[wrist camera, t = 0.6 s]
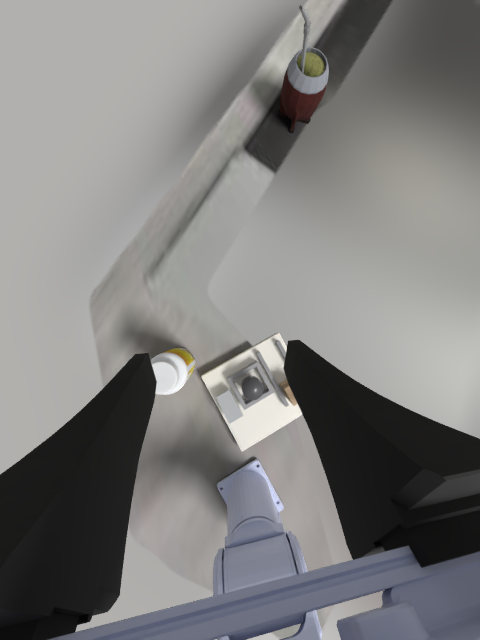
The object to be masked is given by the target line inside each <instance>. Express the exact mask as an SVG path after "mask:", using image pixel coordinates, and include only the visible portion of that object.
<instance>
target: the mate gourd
mask: <svg viewBox="0 0 480 640" xmlns="http://www.w3.org/2000/svg"><path fill="white" fill-rule="evenodd" d="M299 9H300V11H301V13H302V15H303V17H304V20H305V24H304V41H303V49H302V50H300V51H299V52H298V53H297V54H296V55H295V56H294V57H293V59H292V60H291V62H290V63H289V66H288V68H287V70H286V73H285V76H284V81H283V86H282V90H281V96H280V110H278V116H280V117H283V118H287V119H290V120H291V124H290V129H289V132H290V133H293V132H294V127H295V123H296V121H299V122H303V123H307V124H308V123H309V122H310V117H311V115H312V114H313V112H314V111H315V110H316V108H317V106H318V104H319V103H320V101H321V99H322V97H323V95H324V92H325V89H326V84H327V81H328V74H329V69H328V63H327V59H326V57H325V56H324V54H323V53H322V52H321V51H319V50H318V49H315V48H312V47H309V48H307V42H308V35H309V33H310V27H311V22H310V19H309V15H308V12H307V11H306V10H305V9H304V8H303V7H302V6H301V5H300V6H299Z"/></svg>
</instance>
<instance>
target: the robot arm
mask: <svg viewBox="0 0 480 640" xmlns="http://www.w3.org/2000/svg"><path fill="white" fill-rule="evenodd" d="M283 369H284V372H285V375H286V378H287V381H288V384H289V387H290V389H291V391H292V393H293V395H294V397H295V399H296V402H297V404H298V406H299V408H300V410H301V412H302V414H303V416H304V418H305V420H306V422H307V425H308V427H309V429H310V432H311V434H312V436H313V439H314V442H315V445H316V448H317V450H318V453H319V456H320V459H321V462H322V465H323V468H324V470H325V473H326V476H327V479H328V483H329V486H330V489H331V492H332V495H333V498H334V502H335V505H336V508H337V511H338V515H339V519H340V522H341V525H342V529H343V533H344V536H345V539H346V544H347V546H348V549H349V551H350V554H351V556H352V558H353V560H351V561H348V562H343V563H339V564H335V565H332V566H328V567H324V568H320V569H316V570H312V571H309V572H308V570H307V567H306V563H305V560H304V556H303V553H302V550H301V547H300V544H299V542H298V539H297V538H296V536H294V535H293V534H292V532H291V531H287V532H286V533H285V530H284V527H283V523H282V520H281V517H280V513H279V512H281V511H282V510H283V508H284V507H283V504H282V502H281V501H280V499H279V497H278V495H277V493H276V491H275V490H274V488H273V486H272V484H271V482H270V480H269V478H268V477H267V475H266V473H265V471H264V469H263V467H262V466H261V464H260V462H259V460H257V459H255V460H254V461H252V462H250V463H249V464H247V465H245V466H244V467H242V468H241V469H239V470H237V471H236V472H234V473H233V474H231V475H229V476H228V477H226V478H225V479H223V480H221V481H220V482H218V484H217V488H218V490H219V492H220V494H221V496H222V497H223V499H224V501H225V503H226V505H227V527H228V536H226V537H225V550H224V548H220V549H219V550H218V553H217V555H216V557H215V559H214V567H213V597H209V598H205V599H201V600H197V601H193V602H190V603H186V604H182V605H178V606H174V607H170V608H167V609H163V610H159V611H155V612H151V613H147V614H144V615H140V616H136V617H132V618H128V619H124V620H121V621H117V622H113V623H110V624H105V625H101V626H98V627H94V628H90V629H86V630H82V631H78V632H75V631H76V627H77V625H79V624H83V623H87V622H90V620H91V618H92V616H93V615H97V614H101V613H105V612H108V611H109V610H110V608H111V607H112V606H113V604H114V603H115V602H116V600H117V598H118V597H119V595H120V587H121V578H122V569H123V560H124V553H125V544H126V537H127V530H128V523H129V516H130V509H131V502H132V496H133V490H134V484H135V478H136V472H137V467H138V461H139V457H140V452H141V448H142V444H143V441H144V437H145V433H146V430H147V426H148V423H149V419H150V415H151V411H152V408H153V404H154V399H155V392H156V385H157V381H156V377H155V374H154V371H153V367H152V364H151V361H150V357H149V354H148V353H144V354H135V355H134V356H133V357H132V358H131V359H130V360H129V361H128V363H127V364H126V365H125V366H124V367H123V368H122V369H121V370H120V371H119V372H118V373H117V375H116V376H115V377H114V378H113V379H112V380H111V381H110V382H109V383H108V384H107V385H106V386H105V387H104V388H103V389H102V390H101V391H100V392H99V393H98V394H97V395H96V396H95V398H93V399H92V400H91V401H90V402H89V403H88V404H87V405H86V406H85V407H84V408H83V409H82V410H81V411H80V412H79V413H77V414H76V415H75V416H74V417H73V418H72V419H71V420H70V421H68V422H67V423H66V424H65V425H64V426H63V427H62V428H60V429H59V430H58V431H57V432H55V433H54V434H53V435H52V436H51V437H49V438H48V439H47V440H46V441H44V442H43V443H42V444H41V445H39V446H38V447H37V448H35V449H34V450H33V451H31V452H30V453H29V454H27V455H26V456H25V457H24V458H22V459H21V460H20V461H18V462H17V463H16V464H14V465H13V466H12V467H10V468H9V469H7V470H6V471H5V472H3V473H2V474H1V475H0V640H214V639H217V640H246V639H249V638H253V637H256V636H259V635H263V634H266V633H270V632H273V631H276V630H280V629H283V628H286V627H290V626H293V625H296V624H300V623H301V625H300V628H299V630H298V632H297V633H296V634H294V635H293V636H291V637H287V638H284V639H281V640H322V631H321V627H320V624H319V620H318V616H317V612H316V610H318V609H321V608H325V607H328V606H331V605H335V604H338V603H342V602H345V601H349V600H352V599H355V598H359V597H362V596H366V595H369V594H373V593H376V592H380V591H383V590H385V591H383V594H382V600H383V605H382V607H381V608H377V609H373V610H370V611H366V612H362V613H359V614H356V615H353V616H350V617H347V618H344V619H341V620H338V621H337V628H338V631H339V634H340V637H341V640H480V439H479V438H476V437H474V436H471V435H468V434H466V433H463V432H461V431H458V430H455V429H453V428H450V427H448V426H445V425H443V424H440V423H438V422H436V421H433V420H431V419H429V418H426V417H424V416H422V415H420V414H417V413H415V412H413V411H411V410H409V409H406V408H405V407H403V406H401V405H399V404H396V403H395V402H393V401H391V400H389V399H387V398H385V397H383V396H381V395H379V394H377V393H376V392H374V391H372V390H370V389H369V388H367V387H365V386H364V385H362V384H360V383H359V382H357V381H355V380H354V379H352V378H351V377H349V376H348V375H346V374H345V373H343V372H342V371H340V370H339V369H337V368H336V367H334V366H333V365H332V364H330V363H329V362H327V361H326V360H325V359H324V358H322V357H321V356H320V355H318V354H317V353H316V352H314V351H313V350H311V349H310V348H309V347H308V346H307V345H305V344H304V343H303V342H301V341H300V340H292V341H288V345H287V351H286V356H285V362H284V367H283ZM257 465H259V466H257ZM221 487H222V489H220V488H221ZM277 501H279V502H277Z"/></svg>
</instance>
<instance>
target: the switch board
mask: <svg viewBox="0 0 480 640" xmlns="http://www.w3.org/2000/svg"><path fill="white" fill-rule="evenodd" d="M286 351H287V346H286V345H285V343H284V341H283V339H282V337H281V335H280V334H279V333H276V334H274V335H272V336H270V337H269V338H267V339H265V340H263V341H261V342H260V343H258V344H256V345H254V346H252V347H251V348H249V349H247V350H245V351H244V352H242V353H240V354H238V355H236V356H235V357H233V358H231V359H229V360H228V361H226V362H224V363H222V364H220V365H219V366H217V367H215V368H213V369H212V370H210V371H208V372H206V373H204V374H203V375H202V376H201V377H202V379H203V381H204V383H205V385H206V386H207V388H208V390H209V392H210V394H211V396H212V397H213V399H214V401H215V403H216V405H217V407H218V409H219V410H220V412H221V414H222V416H223V418H224V420H225V421H226V423H227V425H228V427H229V429H230V431H231V432H232V434H233V436H234V438H235V440H236V442H237V443H238V445H239V447H240V449H241V451H244V450H246V449H247V448H249V447H250V446H252V445H254V444H255V443H257V442H259V441H260V440H262V439H263V438H265V437H267V436H268V435H270V434H272V433H273V432H275V431H276V430H278V429H280V428H281V427H283V426H285V425H286V424H288V423H289V422H291V421H293V420H294V419H296V418H298V417H299V416H301V415H302V412H301V410H300V408H299V406H298V404H297V405H295V406H293V404H292V403H291V402H290V401H289V400H288V399H287V397H286V395H285V393H284V391H283V390H282V388H281V386H280V383H282V382H283V381H285V380H287V378H286V375H285V372H284V369H283V367H284V362H285V356H286ZM248 376H255V377H257V378H258V379H259V380H260V382H261V383H262V385H263V389H264V390H263V394H262V396H261V397H260V398H259V399H257V400H248V399H247V398H246V397H245V396H244V395H243V392H242V388H241V384H242V381H243V380H244V379H245V378H246V377H248ZM229 389H230V390H231V392H232V394H233V396H234V398H235V400H236V402H237V404H238V406H239V408H240V410H241V411H242V413H243V416H242V417H240V418H239V419H237V420H235V421H234V422H232V423H230V424H229V422H228V420H227V418H226V416H225V414H224V412H223V410H222V408H221V406H220V405H219V403H218V401H217V399H216V397H217V396H218V395H220V394H222V393H224V392H225V391H227V390H229Z"/></svg>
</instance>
